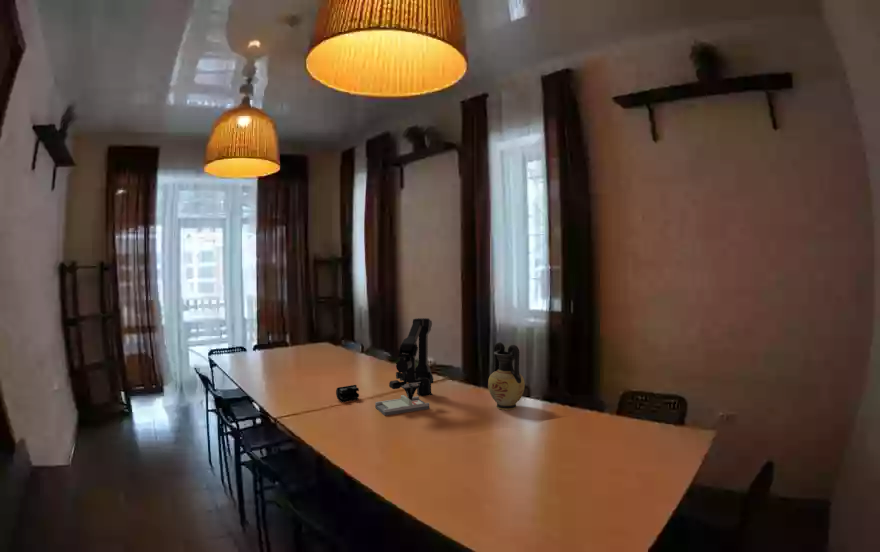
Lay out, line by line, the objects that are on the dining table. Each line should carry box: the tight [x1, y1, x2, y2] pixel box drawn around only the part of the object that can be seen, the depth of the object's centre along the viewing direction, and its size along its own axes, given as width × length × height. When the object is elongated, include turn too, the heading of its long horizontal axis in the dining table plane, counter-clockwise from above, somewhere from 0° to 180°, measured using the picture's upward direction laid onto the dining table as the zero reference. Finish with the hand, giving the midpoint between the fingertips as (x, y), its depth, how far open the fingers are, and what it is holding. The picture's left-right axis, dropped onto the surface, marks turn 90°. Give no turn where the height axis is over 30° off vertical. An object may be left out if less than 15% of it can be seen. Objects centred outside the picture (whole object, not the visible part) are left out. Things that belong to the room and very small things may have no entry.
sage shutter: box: [382, 394, 412, 409], centre depth 239 cm, size 11×11×3 cm
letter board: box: [374, 395, 430, 416], centre depth 241 cm, size 22×14×3 cm, turn 114°
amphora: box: [487, 342, 526, 411], centre depth 238 cm, size 18×17×30 cm
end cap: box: [335, 384, 360, 403], centre depth 258 cm, size 10×7×7 cm
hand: (410, 400), depth 242 cm, fingers closed
